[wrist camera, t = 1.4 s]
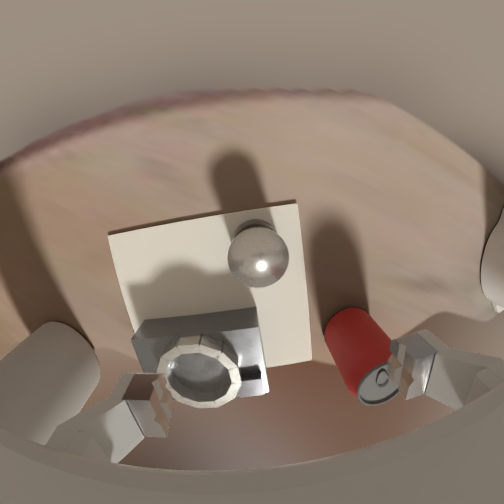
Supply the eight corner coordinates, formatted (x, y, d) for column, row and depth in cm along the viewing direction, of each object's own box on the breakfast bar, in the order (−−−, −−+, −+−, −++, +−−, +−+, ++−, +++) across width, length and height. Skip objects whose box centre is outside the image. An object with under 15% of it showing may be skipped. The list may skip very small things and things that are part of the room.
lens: (276, 214, 30) (285, 223, 23) (282, 261, 31) (292, 282, 24) (227, 222, 30) (222, 233, 23) (235, 268, 31) (233, 291, 25)
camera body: (256, 306, 32) (259, 335, 26) (266, 367, 35) (270, 402, 28) (144, 319, 33) (125, 348, 26) (164, 376, 35) (152, 409, 28)
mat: (296, 203, 30) (297, 203, 30) (311, 358, 35) (312, 359, 34) (109, 235, 31) (107, 235, 30) (152, 375, 35) (151, 376, 35)
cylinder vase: (112, 354, 34) (27, 490, 10) (91, 398, 37) (29, 507, 12) (47, 303, 33) (-67, 396, 8) (35, 354, 35) (-46, 441, 10)
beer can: (365, 297, 33) (412, 346, 21) (373, 338, 35) (413, 392, 23) (317, 317, 33) (347, 376, 22) (329, 356, 35) (356, 418, 23)
